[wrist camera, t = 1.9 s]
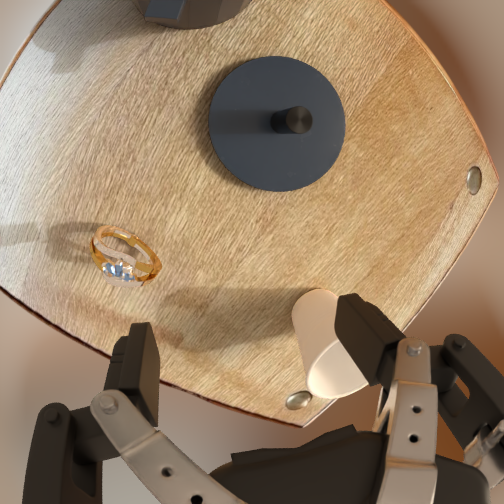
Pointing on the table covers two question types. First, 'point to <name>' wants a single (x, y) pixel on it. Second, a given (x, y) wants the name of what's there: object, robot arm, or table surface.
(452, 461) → the robot arm
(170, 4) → the pot
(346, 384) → the cup
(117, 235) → the ring
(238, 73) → the lid
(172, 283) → the table surface
